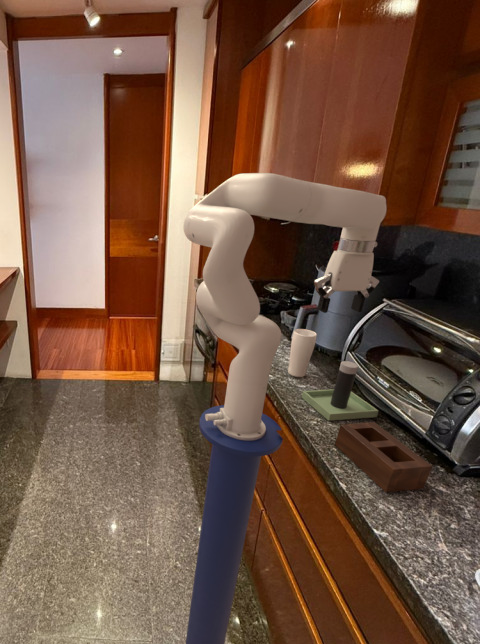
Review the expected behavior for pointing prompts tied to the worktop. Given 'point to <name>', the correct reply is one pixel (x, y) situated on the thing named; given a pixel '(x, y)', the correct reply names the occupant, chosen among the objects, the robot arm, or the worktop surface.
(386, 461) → the holder
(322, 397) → the tray
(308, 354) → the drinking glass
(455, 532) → the worktop surface
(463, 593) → the worktop surface
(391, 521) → the worktop surface
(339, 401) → the tool handle
